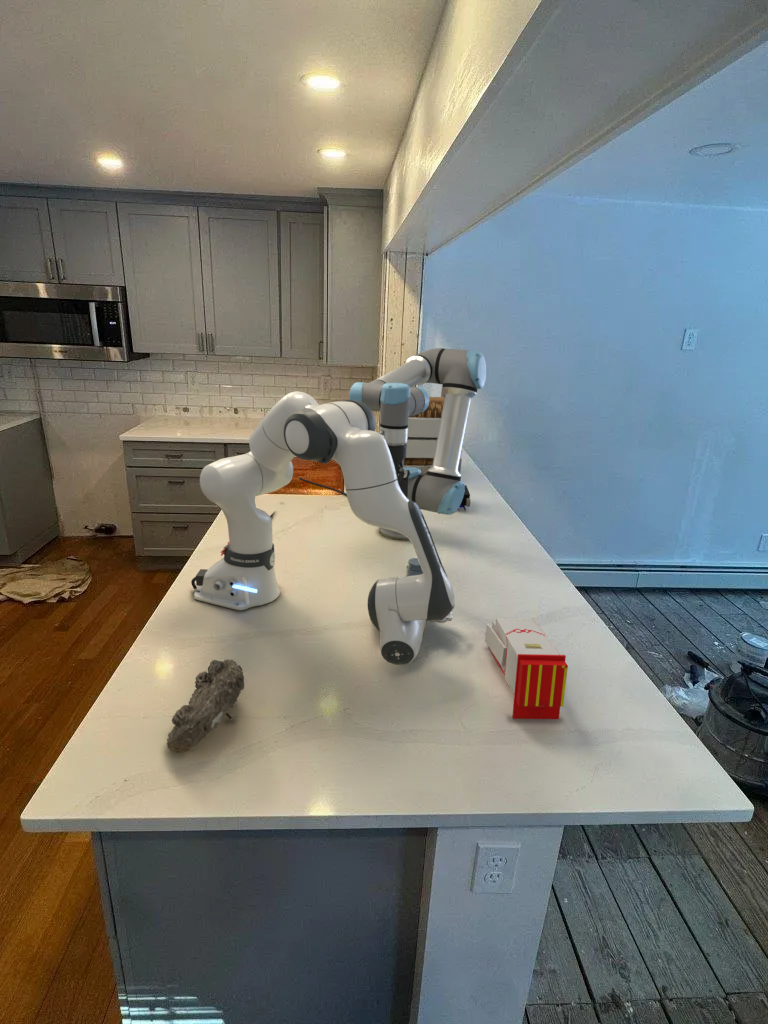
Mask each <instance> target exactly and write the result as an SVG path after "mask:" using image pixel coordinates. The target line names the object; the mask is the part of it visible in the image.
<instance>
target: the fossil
mask: <svg viewBox="0 0 768 1024" xmlns="http://www.w3.org/2000/svg"><path fill="white" fill-rule="evenodd" d="M243 670H244V669H243V667H242V665H240V664H237V662H236V661H235V660H234V659H232V658H231V659H227V658H226V659H224V660H223V661H222V660H217V659H212V660H211V661H210V663H209V665H208V666H207V671H201V672H199V673H198V674H197V675H196V676H195V680H194V684H195V685H194V687H195V689H194V690H193V693H192V694H191V697H190V698H189V700H188V704H184V705H182V706H181V707H180V709H177V710H176V711H175V713H174V715H173V716H172V718H171V723H172V724H173V727H172V730H171V731H170V732H168V734H167V738H166V741H167V742H166V745H167V749H168V750H169V751H173V752H174V753H176V754H178V753H182V752H188V751H189V752H192V751H193V750H195V748H196V747H197V746H199V744H200V743H201V742H203V741H204V740H205V739H206V738H207V737H208V736H209V735H210V734H211V733H212V732H214V730H215V729H217V727H218V726H219V724H220V722H221V721H222V720H223V719H224V718H225V716H226V717H227V719H229V720H233V717H232V715H230V714H229V710H230V709H231V708H234V706H235V704H236V703H237V702H238V699H239V697H240V695H241V693H242V691H243V690H245V689H244V688H245V675H244V671H243Z"/></svg>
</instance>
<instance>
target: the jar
mask: <svg viewBox="0 0 768 1024" xmlns="http://www.w3.org/2000/svg"><path fill="white" fill-rule="evenodd" d="M405 572H406V573H405V577H406V576H414V575H421V574H423V571H422V568H421V566H420V563H419V560H418V558H417V557H412V558H409V559H408V561H407V565H406V568H405Z"/></svg>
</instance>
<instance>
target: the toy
mask: <svg viewBox="0 0 768 1024" xmlns="http://www.w3.org/2000/svg"><path fill="white" fill-rule="evenodd" d="M484 642H485V643H486V645H487V646H488V650H489V651H490V654H491V655H492V657H493V659H494V660H495V662H496V664H497V666H498V667H499V669H500V671H501V672H502V675H503V676H504V678H505V680H506V682H507V684H508V686H509V688H510V691H511V693H512V694H513V704H512V705H513V706H512V715H511V717H512V719H513V720H560V714H561V708H563V707H564V704H565V695H566V685H567V677H568V668H569V666H568V663H567V662H566V657H567V656H566V654H560V653H559V651H558V650H557V648H556V647H555V646H554V645H553V643H552V642H551V640H550V639H549V638H548V636H547V635H546V634H545V632H544V631H543V629H542V628H541V627H540V625H539V623H537V621H536V620H535V619H534V618H523V617H522V618H521V617H520V618H519V617H516V618H515V617H496V618H495V620H492V622H491V624H490V623H486V629H485V637H484Z"/></svg>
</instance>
